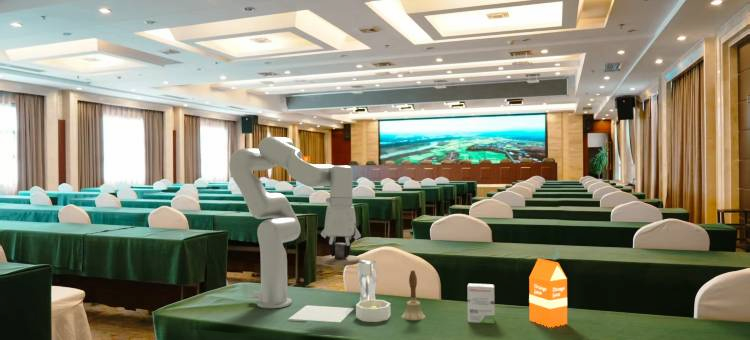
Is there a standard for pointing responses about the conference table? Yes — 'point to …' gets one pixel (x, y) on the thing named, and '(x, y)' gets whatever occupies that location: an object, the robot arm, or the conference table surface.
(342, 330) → the conference table surface
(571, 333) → the conference table surface
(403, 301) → the conference table surface
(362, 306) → the bowl
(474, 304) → the ink box
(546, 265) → the orange juice
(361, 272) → the beer glass
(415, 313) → the hand bell
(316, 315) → the mat
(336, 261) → the lid
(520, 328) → the conference table surface
